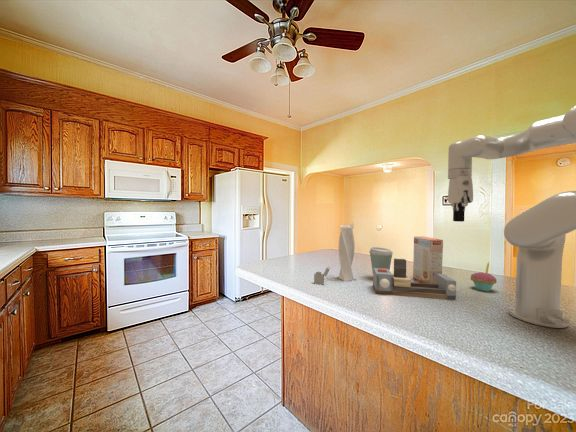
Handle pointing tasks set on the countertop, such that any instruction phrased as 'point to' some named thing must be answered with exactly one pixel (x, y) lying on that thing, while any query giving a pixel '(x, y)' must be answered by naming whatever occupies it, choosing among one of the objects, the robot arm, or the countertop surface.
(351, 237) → the skyscraper
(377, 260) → the disposable coffee cup
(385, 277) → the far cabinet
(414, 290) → the track
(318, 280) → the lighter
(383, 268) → the button
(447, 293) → the grey rectangular block
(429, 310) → the countertop surface
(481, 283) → the cupcake
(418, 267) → the cracker box
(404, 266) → the carriage
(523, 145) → the robot arm
